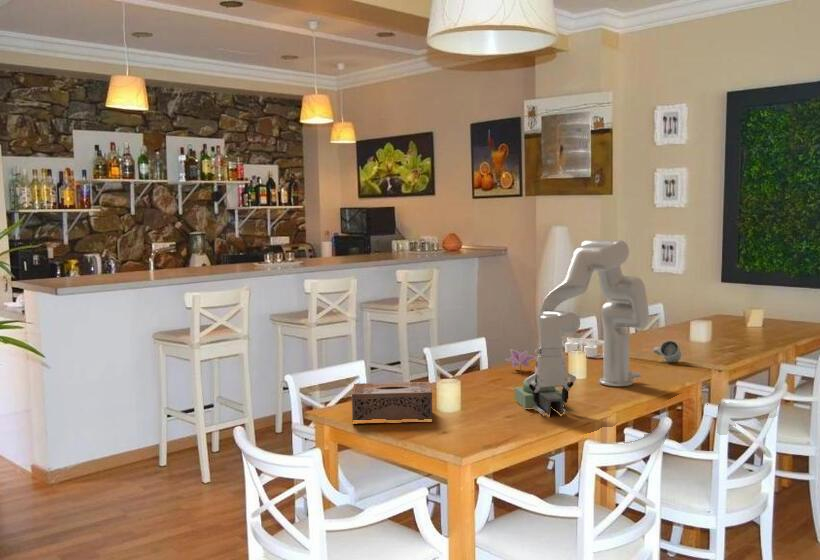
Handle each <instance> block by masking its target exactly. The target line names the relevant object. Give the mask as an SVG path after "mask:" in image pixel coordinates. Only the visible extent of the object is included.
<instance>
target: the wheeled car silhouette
mask: <svg viewBox="0 0 820 560" xmlns="http://www.w3.org/2000/svg"><path fill="white" fill-rule="evenodd" d="M583 345H584V346H583ZM564 346H565V347H564V348H565V349H564V351H565V353H566V354H568V353H567V352H568V351H569V350H578V351H579V350H581V351H583V352H585V353H586V354H587V357H586V358H593V359H600V358H604V340H601V339H596V338H595V339H594V338H582V337H581V338H577V337H566V342H565V344H564ZM599 346H602V353H598V347H599ZM583 348H584V349H583ZM599 355H600V356H599Z"/></svg>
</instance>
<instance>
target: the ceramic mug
mask: <svg viewBox="0 0 820 560" xmlns="http://www.w3.org/2000/svg"><path fill="white" fill-rule="evenodd" d="M653 353H654V354H655V355H658V356H662V357H663V358H664V359H665V360H666V361H667V362H668V363H673V364H675V363H677V362H679V361H680V360H681V358H682V351H681V349H680V346H679V344H678V343H677V342H676V341H674V340H666V341H664V342H662V343H661V345H660V346H654V348H653Z"/></svg>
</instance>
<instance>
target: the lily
mask: <svg viewBox="0 0 820 560" xmlns="http://www.w3.org/2000/svg"><path fill="white" fill-rule="evenodd" d="M509 351H510V354H511V357H507V358H505V361H507V362H508V361H509V362H512V368H516V367H518V366H519V372H520V374H522V369H521V367H522V366H524V367H527V368H531V367H530V364H529V362H530V361H533V360H537V356H534V355H530V354H528V350H525V351H524V350H523V351H522V352H520V351H518V350H515V349H512V348H510V349H509ZM521 365H522V366H521Z"/></svg>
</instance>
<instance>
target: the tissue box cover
mask: <svg viewBox="0 0 820 560" xmlns="http://www.w3.org/2000/svg"><path fill="white" fill-rule="evenodd" d="M351 407H352V409H351V411H352V413H351V414H352V421H353V420H372V419H386V420H402V419H418V420H424V419H432V420H433V392H432V387H431V382H430V381H414V382H413V381H412V382H411V381H410V382H373V383H372V382H371V383H370V382H369V383H368V382H367V383H354V384H353V387H352V392H351Z"/></svg>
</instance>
